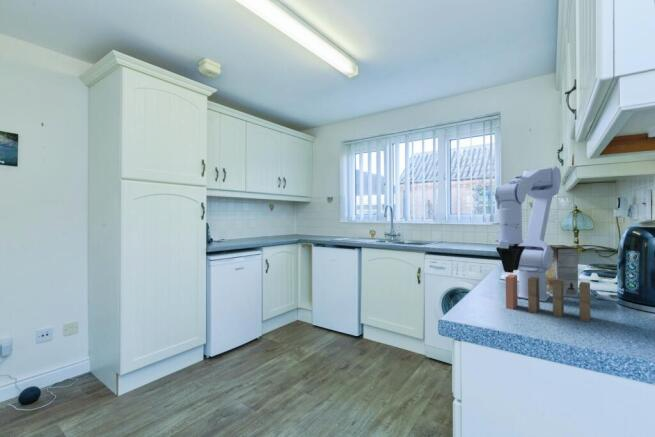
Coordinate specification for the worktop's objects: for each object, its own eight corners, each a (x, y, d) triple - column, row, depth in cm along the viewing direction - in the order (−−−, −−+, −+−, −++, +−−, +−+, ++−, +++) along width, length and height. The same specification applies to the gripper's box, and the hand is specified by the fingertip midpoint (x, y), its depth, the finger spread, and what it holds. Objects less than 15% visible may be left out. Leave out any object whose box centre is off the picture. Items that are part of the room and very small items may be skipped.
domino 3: (555, 311, 84) (555, 278, 84) (563, 312, 83) (563, 279, 83) (552, 315, 81) (552, 281, 81) (561, 317, 79) (561, 282, 79)
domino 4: (581, 315, 81) (580, 281, 80) (590, 316, 79) (589, 282, 79) (579, 320, 77) (579, 284, 77) (589, 321, 76) (588, 285, 76)
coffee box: (543, 289, 108) (542, 244, 108) (563, 290, 107) (563, 244, 107) (557, 296, 99) (556, 247, 99) (579, 297, 98) (579, 247, 98)
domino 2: (532, 307, 88) (531, 276, 88) (539, 308, 87) (539, 277, 87) (528, 311, 85) (527, 279, 85) (536, 312, 83) (535, 280, 83)
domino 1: (510, 304, 92) (510, 274, 92) (517, 305, 91) (517, 275, 91) (506, 307, 88) (505, 276, 88) (513, 309, 87) (512, 277, 87)
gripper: (502, 224, 97) (502, 266, 97) (488, 225, 87) (488, 272, 87) (527, 224, 93) (528, 268, 93) (516, 225, 82) (517, 275, 82)
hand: (511, 271), depth 89 cm, fingers open, 5 cm apart
